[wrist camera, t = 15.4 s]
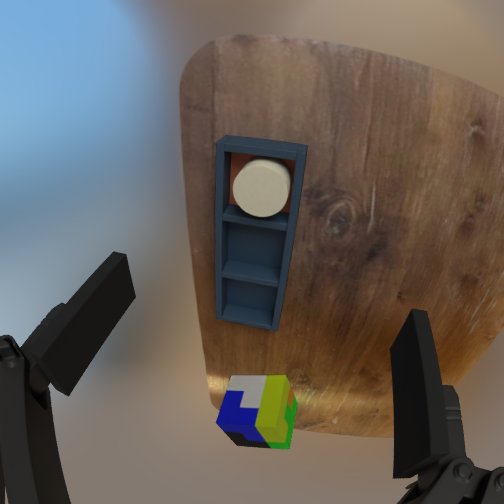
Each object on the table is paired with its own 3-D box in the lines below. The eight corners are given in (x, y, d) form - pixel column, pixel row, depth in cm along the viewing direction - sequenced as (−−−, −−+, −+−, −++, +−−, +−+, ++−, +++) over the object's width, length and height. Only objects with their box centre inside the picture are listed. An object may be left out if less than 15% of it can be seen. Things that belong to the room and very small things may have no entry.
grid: (307, 145, 28) (306, 153, 26) (280, 314, 41) (277, 331, 39) (225, 135, 29) (215, 142, 27) (222, 303, 42) (215, 319, 40)
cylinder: (294, 158, 28) (291, 170, 25) (288, 205, 31) (284, 221, 28) (243, 151, 29) (233, 162, 26) (240, 197, 32) (231, 212, 29)
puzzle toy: (231, 375, 52) (215, 422, 44) (285, 374, 49) (275, 426, 41) (248, 402, 57) (236, 445, 49) (297, 403, 54) (289, 449, 45)
